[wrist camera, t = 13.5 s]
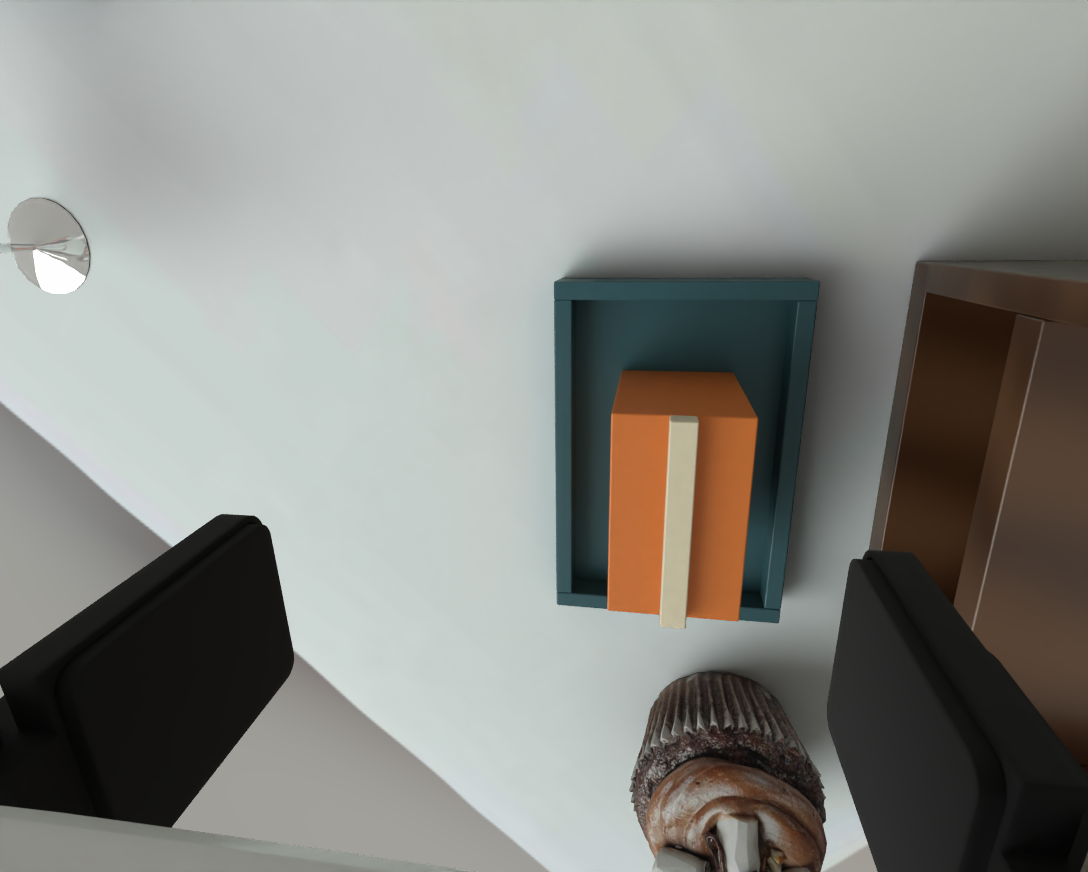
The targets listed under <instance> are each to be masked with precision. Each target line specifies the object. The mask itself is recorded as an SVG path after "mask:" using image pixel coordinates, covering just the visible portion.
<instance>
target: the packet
mask: <svg viewBox="0 0 1088 872" xmlns="http://www.w3.org/2000/svg"><path fill="white" fill-rule="evenodd" d="M757 429H758V417H757V415H756V413H755V412H754V410H753V408H752V406H751V404H750V402H749V401H748V399H747V397H746V395H745V393H744V391H743V390H742V388H741V386H740V384H739V382H738V380H737V379H736V377H735V375H734V373H730V372H684V371H638V370H623V371H622V372H621V376H620V380H619V384H618V389H617V393H616V397H615V401H614V405H613V409H612V413H611V448H610V497H609V546H608V595H607V609H608V610H611V611H622V612H634V613H646V614H658V615H659V623H660V626H661V627H670V628H682V629H685V627H686V617H693V618H705V619H717V620H729V621H739V616H740V605H741V595H742V584H743V574H744V564H745V553H746V543H747V533H748V522H749V512H750V501H751V491H752V481H753V470H754V460H755V450H756V439H757Z"/></svg>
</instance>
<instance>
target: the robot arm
mask: <svg viewBox="0 0 1088 872" xmlns="http://www.w3.org/2000/svg"><path fill="white" fill-rule="evenodd" d="M293 663H294V652H293V647H292V642H291V637H290V632H289V626H288V621H287V616H286V611H285V606H284V601H283V596H282V590H281V585H280V580H279V575H278V570H277V565H276V560H275V554H274V549H273V544H272V539H271V534H270V531H269V529H268V528H267V526H265V525H262V523H261V521H260V520H259V519H258V518H257V517H255V516H247V515H229V514H221V515H219V516H216V517H215V518H213V519H212V520H211V521H209V522H208V523H206V524H205V525H203V526H202V527H201V528H199V529H198V530H196V531H195V532H194V533H192V534H191V535H189V536H188V537H186V538H185V539H184V540H182V541H181V542H179V543H178V544H176V545H175V546H174V547H172V548H171V549H169V550H168V551H167V552H165V553H164V554H162V555H161V556H159V557H158V558H157V559H155V560H154V561H152V562H151V563H150V564H148V565H147V566H145V567H144V568H142V569H141V570H140V571H138V572H137V573H135V574H134V575H132V576H131V577H130V578H128V579H127V580H125V581H124V582H122V583H121V584H120V585H118V586H117V587H115V588H114V589H113V590H111V591H110V592H108V593H107V594H105V595H104V596H103V597H101V598H100V599H98V600H97V601H96V602H94V603H93V604H91V605H90V606H89V607H87V608H86V609H84V610H83V611H82V612H80V613H78V614H77V615H76V616H74V617H73V618H71V619H70V620H69V621H67V622H66V623H64V624H63V625H61V626H60V627H59V628H57V629H56V630H55V631H53V632H51V633H50V634H49V635H47V636H46V637H44V638H43V639H42V640H40V641H39V642H37V643H36V644H34V645H33V646H32V647H30V648H29V649H28V650H26V651H24V652H23V653H22V654H20V655H19V656H17V657H16V658H15V659H14V660H12V661H10V662H9V663H8V664H6V665H5V666H3V667H2V668H0V685H1V688H2V690H3V693H4V696H3V697H2V698H0V872H475V871H468V870H461V869H455V868H448V867H441V866H434V865H427V864H420V863H414V862H407V861H400V860H393V859H386V858H378V857H373V856H366V855H359V854H351V853H345V852H337V851H331V850H324V849H317V848H310V847H303V846H296V845H290V844H283V843H276V842H269V841H262V840H255V839H248V838H240V837H233V836H226V835H219V834H212V833H205V832H198V831H190V830H182V829H176V828H171V827H172V826H173V825H174V823H175V822H176V821H177V820H178V818H179V817H180V816H181V814H182V813H183V812H184V811H185V809H186V808H187V807H188V805H189V804H190V803H191V802H192V800H193V799H194V798H195V796H196V795H197V794H198V793H199V791H200V790H201V789H202V787H203V786H204V785H205V784H206V782H207V781H208V780H209V778H210V777H211V776H212V775H213V773H214V772H215V771H216V769H217V768H218V767H219V766H220V764H221V763H222V762H223V760H224V759H225V758H226V756H227V755H228V754H229V753H230V751H231V750H232V749H233V747H234V746H235V745H236V744H237V742H238V741H239V740H240V738H241V737H242V736H243V734H244V733H245V732H246V731H247V729H248V728H249V727H250V726H251V724H252V723H253V722H254V721H255V719H256V718H257V717H258V715H259V714H260V713H261V711H262V710H263V709H264V708H265V706H266V705H267V704H268V703H269V701H270V700H271V699H272V697H273V696H274V695H275V694H276V692H277V691H278V690H279V688H280V687H281V686H282V685H283V683H284V682H285V681H286V679H287V678H288V677H289V675H290V673H291V670H292V667H293ZM827 719H828V726H829V730H830V733H831V736H832V739H833V742H834V745H835V748H836V751H837V754H838V757H839V760H840V763H841V766H842V769H843V771H844V774H845V777H846V780H847V783H848V786H849V789H850V792H851V795H852V798H853V801H854V804H855V807H856V810H857V812H858V815H859V818H860V821H861V824H862V827H863V830H864V833H865V836H866V839H867V842H868V845H869V848H870V850H871V853H872V856H873V859H874V862H875V865H876V868H877V871H878V872H1088V775H1087V774H1086V773H1085V771H1084V770H1083V769H1082V767H1081V766H1080V765H1079V763H1078V762H1077V761H1076V760H1075V758H1074V757H1073V756H1072V754H1071V753H1070V752H1069V750H1068V749H1067V748H1066V747H1065V745H1064V744H1063V743H1062V741H1061V740H1060V739H1059V738H1058V736H1057V735H1056V734H1055V732H1054V731H1053V730H1052V728H1051V727H1050V726H1049V725H1048V723H1047V722H1046V721H1045V719H1044V718H1043V717H1042V715H1041V714H1040V713H1039V712H1038V710H1037V709H1036V708H1035V706H1034V705H1033V704H1032V702H1031V701H1030V700H1029V699H1028V697H1027V696H1026V695H1025V693H1024V692H1023V691H1022V690H1021V688H1020V687H1019V686H1018V684H1017V683H1016V682H1015V680H1014V679H1013V678H1012V677H1011V675H1010V674H1009V673H1008V671H1007V670H1006V669H1005V667H1004V666H1003V665H1002V664H1001V662H1000V661H999V660H998V659H997V658H996V657H995V656H994V655H993V654H992V653H991V652H989V651H987V649H986V648H985V647H984V646H983V644H982V643H981V642H980V640H979V639H978V638H977V636H976V635H975V634H974V632H973V631H972V630H971V628H970V627H969V626H968V625H967V623H966V622H965V621H964V619H963V618H962V617H961V615H960V614H959V613H958V611H957V610H956V609H955V607H954V606H953V605H952V604H951V602H950V601H949V600H948V598H947V597H946V596H945V594H944V593H943V592H942V590H941V589H940V588H939V586H938V585H937V584H936V582H935V581H934V580H933V579H932V577H931V576H930V575H929V573H928V572H927V571H926V569H925V568H924V567H923V565H922V564H921V563H920V561H919V560H918V559H917V558H916V556H915V555H914V554H913V553H911V552H897V551H879V550H868V551H867V552H865V554H864V556H863V559H853V560H852V561H851V563H850V566H849V571H848V577H847V584H846V590H845V596H844V603H843V609H842V615H841V621H840V628H839V634H838V640H837V646H836V653H835V659H834V665H833V672H832V678H831V684H830V690H829V697H828V703H827Z"/></svg>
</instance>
